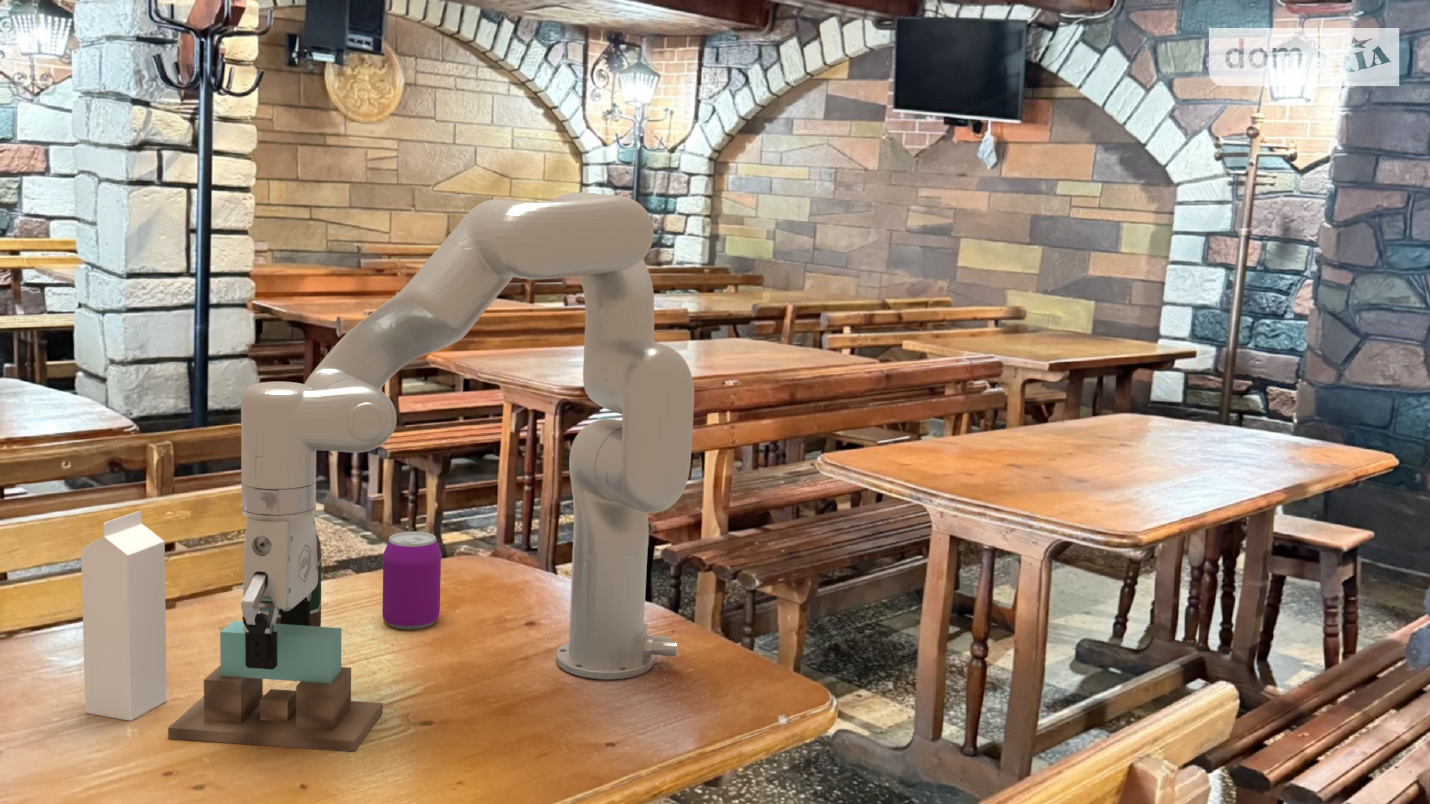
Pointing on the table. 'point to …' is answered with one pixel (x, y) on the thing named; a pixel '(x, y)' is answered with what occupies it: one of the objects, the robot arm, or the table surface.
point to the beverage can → (411, 580)
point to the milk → (124, 620)
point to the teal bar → (286, 653)
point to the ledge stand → (278, 714)
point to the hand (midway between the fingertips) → (279, 651)
